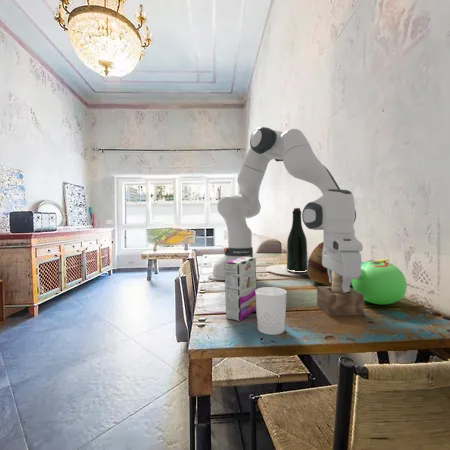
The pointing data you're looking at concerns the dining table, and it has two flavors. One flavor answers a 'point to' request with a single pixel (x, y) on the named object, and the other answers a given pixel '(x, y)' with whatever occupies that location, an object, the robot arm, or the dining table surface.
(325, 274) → the brown clay vase
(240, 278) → the candy bar box
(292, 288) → the dining table surface
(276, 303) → the white cup
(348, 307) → the socket block
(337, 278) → the beech dowel
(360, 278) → the green rounded body
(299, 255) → the dark wine bottle
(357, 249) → the robot arm
